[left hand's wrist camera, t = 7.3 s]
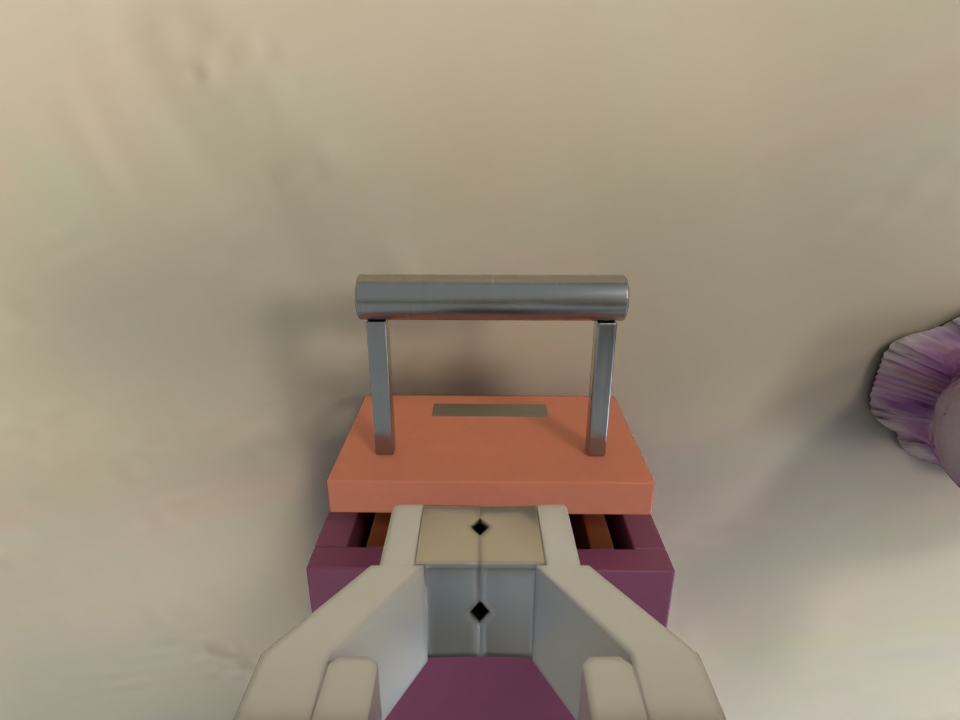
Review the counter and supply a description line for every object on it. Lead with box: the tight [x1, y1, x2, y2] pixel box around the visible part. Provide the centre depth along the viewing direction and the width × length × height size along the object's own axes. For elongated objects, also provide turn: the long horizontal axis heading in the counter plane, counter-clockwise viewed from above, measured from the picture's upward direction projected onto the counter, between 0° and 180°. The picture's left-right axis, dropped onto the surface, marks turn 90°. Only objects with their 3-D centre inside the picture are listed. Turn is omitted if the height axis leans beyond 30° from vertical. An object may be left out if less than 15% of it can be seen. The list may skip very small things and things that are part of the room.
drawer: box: [327, 275, 655, 549], centre depth 23 cm, size 25×10×6 cm, turn 0°
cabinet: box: [306, 511, 675, 720], centre depth 26 cm, size 21×11×8 cm, turn 0°
